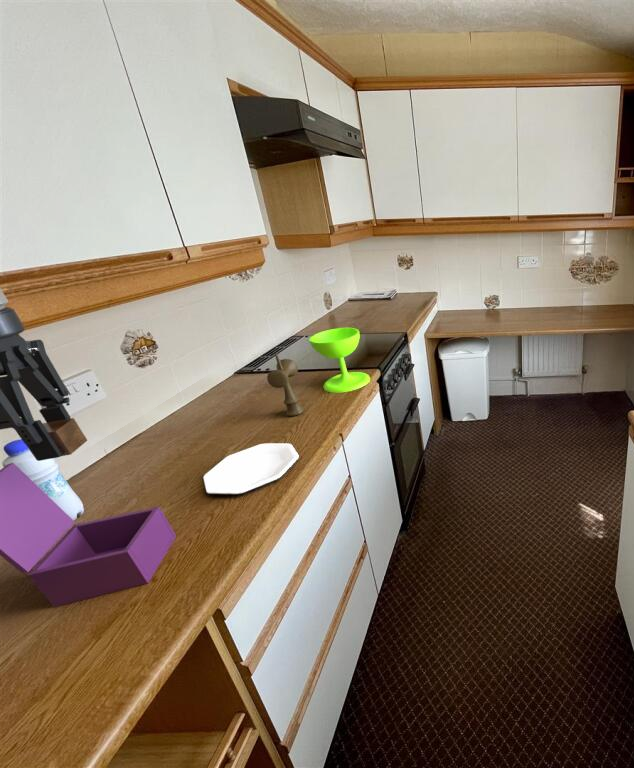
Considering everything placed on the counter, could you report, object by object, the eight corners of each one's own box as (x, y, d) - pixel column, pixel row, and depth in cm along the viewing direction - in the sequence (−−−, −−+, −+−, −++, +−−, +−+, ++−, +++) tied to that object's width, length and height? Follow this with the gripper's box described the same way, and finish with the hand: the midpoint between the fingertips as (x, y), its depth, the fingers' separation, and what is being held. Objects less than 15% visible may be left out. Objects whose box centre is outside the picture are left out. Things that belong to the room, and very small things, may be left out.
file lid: (13, 462, 68) (7, 464, 68) (-50, 508, 58) (-57, 510, 58) (75, 521, 75) (70, 523, 75) (28, 572, 65) (23, 574, 65)
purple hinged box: (176, 536, 82) (159, 506, 78) (148, 583, 72) (127, 551, 68) (95, 554, 79) (74, 524, 75) (54, 607, 68) (27, 575, 65)
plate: (202, 470, 102) (200, 465, 101) (287, 439, 113) (285, 434, 112) (212, 511, 88) (209, 505, 87) (307, 471, 99) (305, 466, 98)
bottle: (38, 527, 87) (-21, 449, 78) (76, 505, 92) (25, 430, 84) (58, 532, 85) (0, 453, 76) (96, 510, 90) (45, 434, 82)
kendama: (310, 404, 131) (292, 346, 123) (301, 419, 123) (281, 358, 114) (290, 407, 130) (271, 349, 122) (280, 422, 122) (258, 360, 113)
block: (71, 454, 66) (55, 431, 64) (36, 461, 65) (20, 437, 63) (87, 440, 70) (73, 417, 68) (55, 446, 69) (40, 423, 67)
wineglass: (355, 393, 137) (343, 343, 129) (313, 392, 140) (298, 343, 132) (378, 373, 151) (367, 327, 143) (339, 373, 154) (327, 327, 146)
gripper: (-50, 324, 51) (53, 474, 61) (48, 295, 66) (117, 419, 76) (-131, 333, 49) (-11, 487, 59) (-11, 301, 64) (68, 427, 74)
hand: (61, 448), depth 67 cm, fingers closed on block, 4 cm apart
